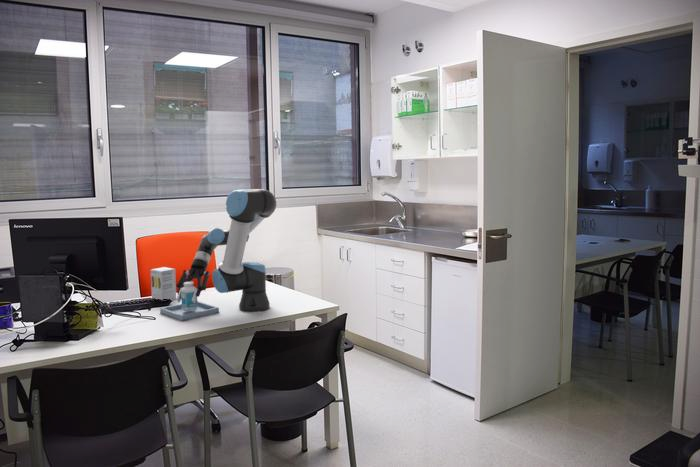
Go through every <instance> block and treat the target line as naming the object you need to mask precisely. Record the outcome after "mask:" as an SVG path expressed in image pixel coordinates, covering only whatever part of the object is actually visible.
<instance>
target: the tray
mask: <svg viewBox="0 0 700 467" xmlns="http://www.w3.org/2000/svg"><path fill="white" fill-rule="evenodd" d="M197 303H198V308H197V309H196V310H194V311H183V310H182V303H180V304H175V305H170V306H164V307H161V308H159V310H160V314H161V315H163V316H166V317H170V318H172V319H175V320H177V321H180V322H184V321H188V320H189V321H190V320H194V319H197V318H202V317H206V316H210V315H214V314H215V315H216V314H218V313H220V307H218V306H215V305H211V304H207V303H205V302H203V301H198V300H197Z"/></svg>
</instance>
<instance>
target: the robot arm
mask: <svg viewBox="0 0 700 467" xmlns="http://www.w3.org/2000/svg"><path fill="white" fill-rule="evenodd" d="M225 206H226V207H225V209H226V212H227V214H228V215H229V216H228V217H229V218H230V219H231V221H230V227H229V229H224V230H223V229H221V228H218V227H214V228H212V229H211V230H210V231H209V232H208V233H207V234H204V235H203V236H202V238H201V239H200V242H199V245H198V248H197V250H196V252H195V255H194V258H193V260H192V262H191V265H190V269H189V270H186V269H183V271H182V275H181V277H180V279H179V280H178V281H177V284H176V289H178V291H177V292H176V299H175V300H176V301H177V302H178V303H180V302H182V301H181V289H182V288H183V287H184V282H192V281H193V280H195V279H196V280H197V287H196V288H197V289H196V290H195V292H194V295H193V298H192V302H193V303H195V302H196V299H197V300H198V297H200V295H201V292H203V291H206V290H207V285H208V280H209V277H210V276H211V277H212V278H211V279H212V284H213V287H214V288H215V290H216V291H217V292H218V293H220V294H223V293H230V292H231V293H232V292H237V291H242V294H241V298H240V302H239V303H238V307H239V308H238V309H239V310H240V311H242V312H252V313H253V312H263V311H267V310H268V309H270V308H271V307H270V306H271V305H270V300H269V297H268V294H267V290H266V289H267V286H266V285H267V283H266V273H267V272H266V266H265V265H264V264H263V263H261V262H260V263H259V262H252V261H244V262H243V260H244V258H243V257H244V255H245V254H244V253H245V249H246V244H247V243H248V241H249V238H250V234H251V233H252V232H253V231H254V230H255V229H256V228H257V227H258V226H259V225H260V224H261V223H262V222H263V221H264V220H265V219H266V218H269V217H271V216H272V215H273V214H274V212H275V211H276V208H277V200H276V197H275V195H274V194H273V193H272V192H271V191H269V190H267V189H265V188H257V189H256V188H253V189H251V188H249V189H243V188H240V189H236V190H235V189H234V190H232V191H231V192H230V193H229V194H228V195H227V198H226V200H225ZM218 246H219V247H220V246H225V250H224V255H223V256H224V257H223V260H222V261H220V262H219V264H218V268H215V269H214V270H212V273H210V272H209V270H207V268H208V266H209V263H210V260H211V259H212V258H211V257H212V255H213V252H214V250H216V248H217V247H218ZM211 274H212V275H211ZM202 277H203V279H202Z"/></svg>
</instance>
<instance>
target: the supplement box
mask: <svg viewBox="0 0 700 467" xmlns="http://www.w3.org/2000/svg"><path fill="white" fill-rule="evenodd" d="M176 277H177V276H176V268H173V267H172V268H171V267H167V266H161V267H158V268H157V267H156V268H152V269H150V286H151V289H150V290H151V292H150V293H151V299H152V298H155V299H161V300H163V299H171V301H173V300H176V299H177V286H176V285H177V284H176V282H177V281H176V279H177V278H176Z"/></svg>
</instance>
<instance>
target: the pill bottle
mask: <svg viewBox="0 0 700 467" xmlns="http://www.w3.org/2000/svg"><path fill="white" fill-rule="evenodd" d="M196 289H198V288H197V287H196V286H194V281H190V282H184V287H183V288H182V289H181V301H180V302H181V304H182V310H183V311H194V310H196V309H197V308H198V303H197V301H198V298H197V299H196V302H195V303H193V302H192V298H193V295H194V292H195V290H196Z"/></svg>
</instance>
